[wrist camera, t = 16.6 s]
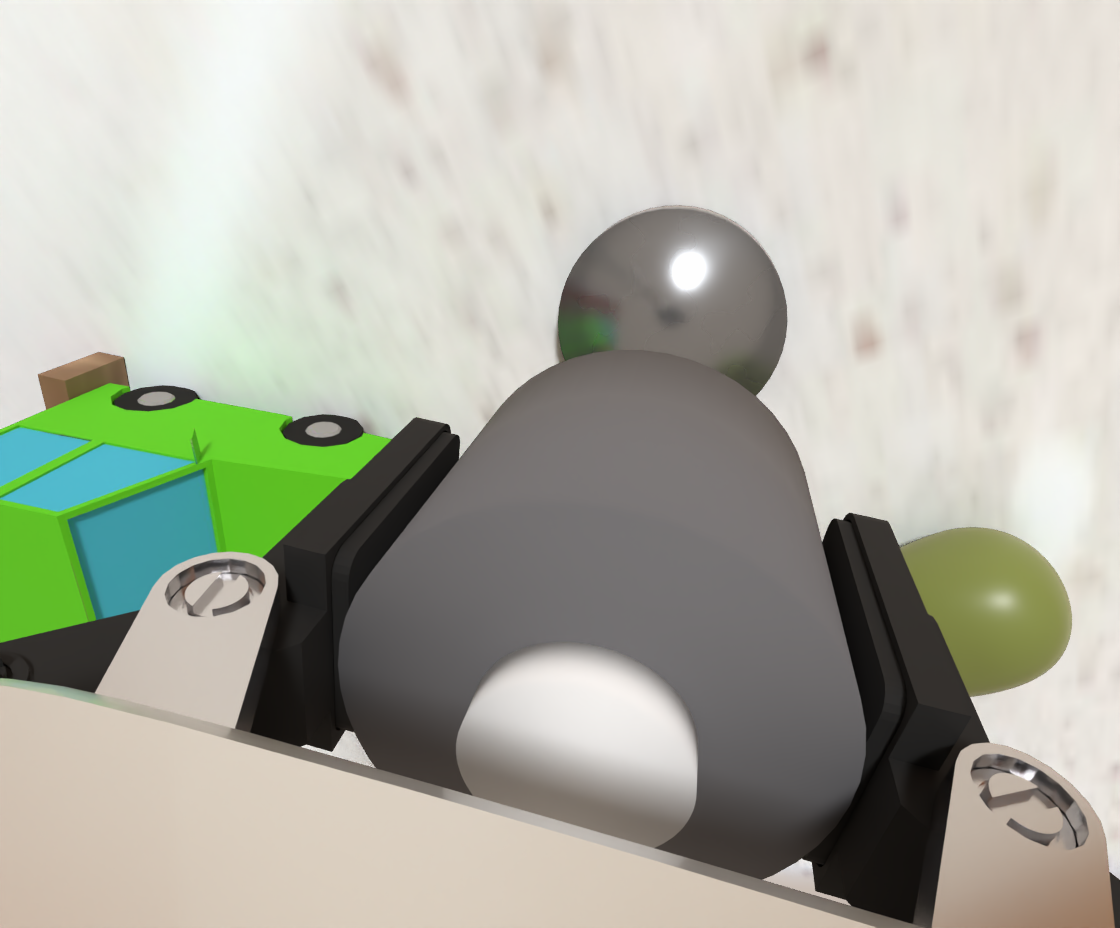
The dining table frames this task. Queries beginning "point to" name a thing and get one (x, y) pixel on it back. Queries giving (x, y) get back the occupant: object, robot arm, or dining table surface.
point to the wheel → (619, 621)
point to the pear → (992, 605)
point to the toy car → (150, 495)
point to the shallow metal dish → (678, 294)
